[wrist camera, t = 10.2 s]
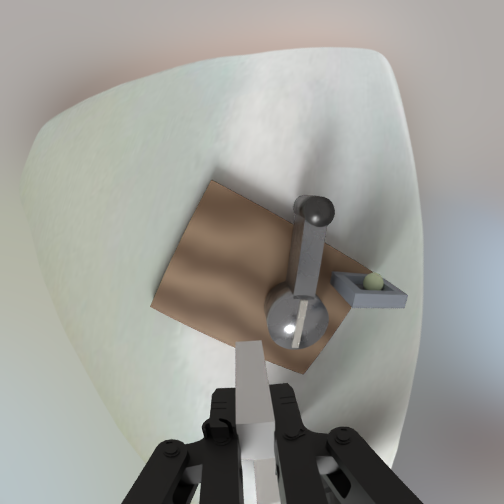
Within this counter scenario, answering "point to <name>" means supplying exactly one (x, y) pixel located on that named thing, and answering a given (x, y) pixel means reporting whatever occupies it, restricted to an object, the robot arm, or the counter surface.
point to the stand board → (242, 275)
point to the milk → (266, 481)
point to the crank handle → (301, 279)
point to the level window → (367, 290)
